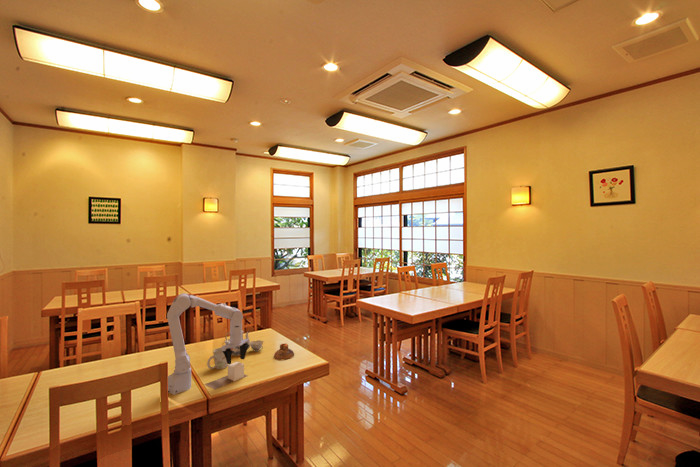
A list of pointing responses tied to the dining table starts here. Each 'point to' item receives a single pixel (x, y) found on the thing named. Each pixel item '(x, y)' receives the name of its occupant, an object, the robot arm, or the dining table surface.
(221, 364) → the mug
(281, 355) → the bell
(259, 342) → the chinaware
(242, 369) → the tan rectangular block
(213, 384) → the stand
